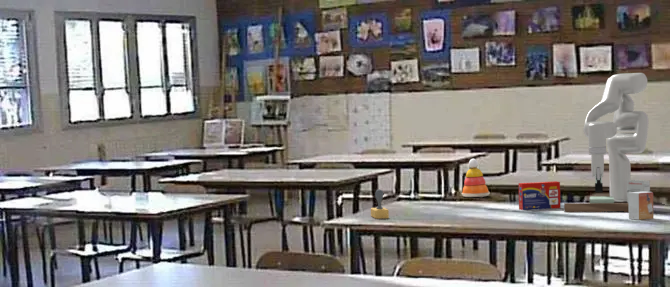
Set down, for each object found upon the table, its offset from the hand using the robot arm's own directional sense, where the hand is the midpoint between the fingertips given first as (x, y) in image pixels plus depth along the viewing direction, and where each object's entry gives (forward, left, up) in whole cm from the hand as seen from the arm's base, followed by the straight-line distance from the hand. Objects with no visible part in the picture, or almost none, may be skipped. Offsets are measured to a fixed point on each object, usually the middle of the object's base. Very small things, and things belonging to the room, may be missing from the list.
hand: (599, 192), depth 431 cm
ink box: (+3, +17, -7) cm, 18 cm away
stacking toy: (-50, -60, -7) cm, 79 cm away
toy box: (+8, -25, -7) cm, 27 cm away
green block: (+14, +1, -7) cm, 15 cm away
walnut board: (+21, 0, -6) cm, 22 cm away
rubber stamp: (+41, -90, -7) cm, 99 cm away
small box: (+47, +16, -7) cm, 50 cm away
